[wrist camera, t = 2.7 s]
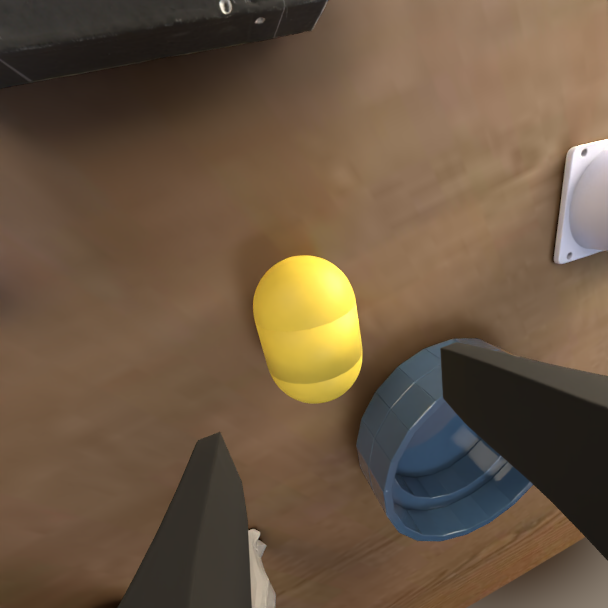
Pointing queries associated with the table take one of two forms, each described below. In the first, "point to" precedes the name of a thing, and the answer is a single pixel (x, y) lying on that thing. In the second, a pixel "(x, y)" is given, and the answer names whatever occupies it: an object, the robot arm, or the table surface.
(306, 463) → the table surface
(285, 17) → the disk drive
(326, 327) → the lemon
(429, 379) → the bowl
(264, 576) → the human figurine
